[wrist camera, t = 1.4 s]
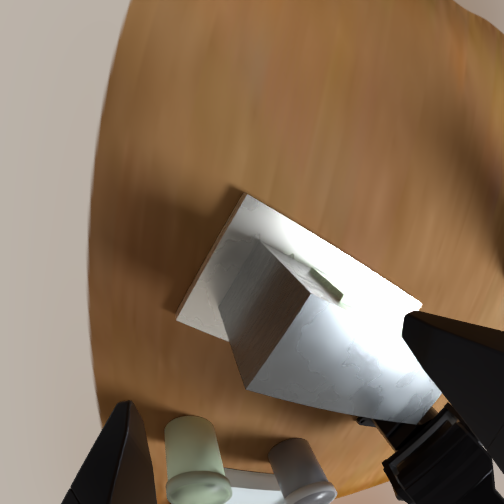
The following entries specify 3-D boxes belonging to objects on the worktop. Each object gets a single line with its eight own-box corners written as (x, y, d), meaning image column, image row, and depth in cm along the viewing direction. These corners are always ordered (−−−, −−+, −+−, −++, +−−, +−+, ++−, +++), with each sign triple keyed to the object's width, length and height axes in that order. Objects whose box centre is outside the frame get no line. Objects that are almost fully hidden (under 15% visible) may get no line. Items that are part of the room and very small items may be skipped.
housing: (415, 299, 26) (486, 348, 18) (358, 380, 27) (411, 444, 19) (243, 192, 20) (298, 223, 11) (175, 312, 21) (183, 407, 13)
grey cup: (319, 439, 29) (346, 488, 22) (293, 466, 29) (315, 514, 23) (283, 434, 27) (308, 489, 21) (257, 462, 28) (276, 515, 21)
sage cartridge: (226, 422, 25) (244, 485, 18) (202, 452, 26) (214, 512, 19) (174, 407, 23) (182, 476, 17) (154, 440, 24) (157, 504, 17)
